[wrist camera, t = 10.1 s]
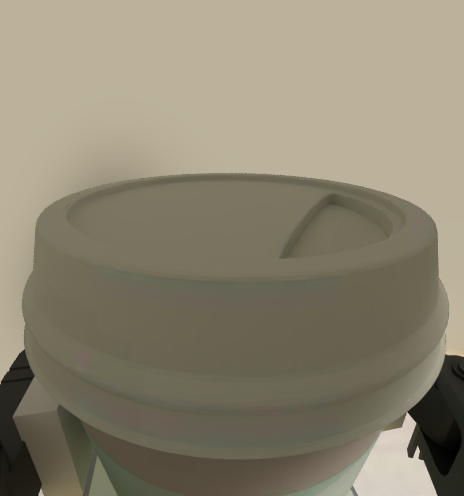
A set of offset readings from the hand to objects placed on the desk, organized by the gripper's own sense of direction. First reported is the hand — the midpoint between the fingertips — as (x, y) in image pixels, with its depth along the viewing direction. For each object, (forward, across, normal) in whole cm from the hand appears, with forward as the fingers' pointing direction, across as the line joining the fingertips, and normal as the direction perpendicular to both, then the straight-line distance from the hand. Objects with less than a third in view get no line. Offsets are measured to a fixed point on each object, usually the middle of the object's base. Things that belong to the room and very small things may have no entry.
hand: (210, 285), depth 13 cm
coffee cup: (-5, 0, -7) cm, 9 cm away
